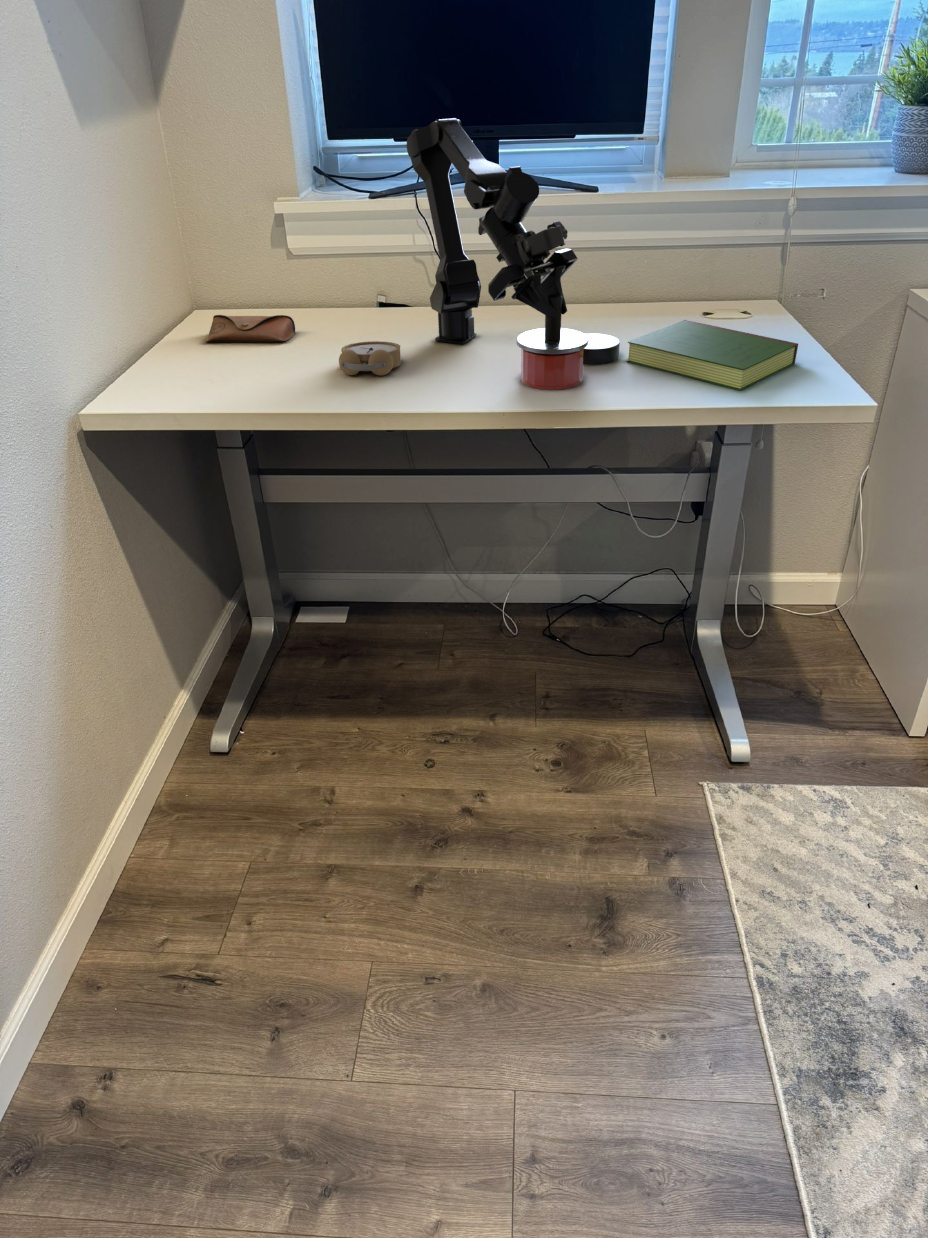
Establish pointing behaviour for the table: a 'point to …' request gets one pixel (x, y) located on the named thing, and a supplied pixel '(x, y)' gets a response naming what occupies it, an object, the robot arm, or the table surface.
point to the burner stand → (601, 349)
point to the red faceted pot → (552, 370)
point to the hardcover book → (712, 354)
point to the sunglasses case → (251, 329)
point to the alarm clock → (370, 357)
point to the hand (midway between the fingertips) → (559, 314)
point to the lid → (553, 335)
